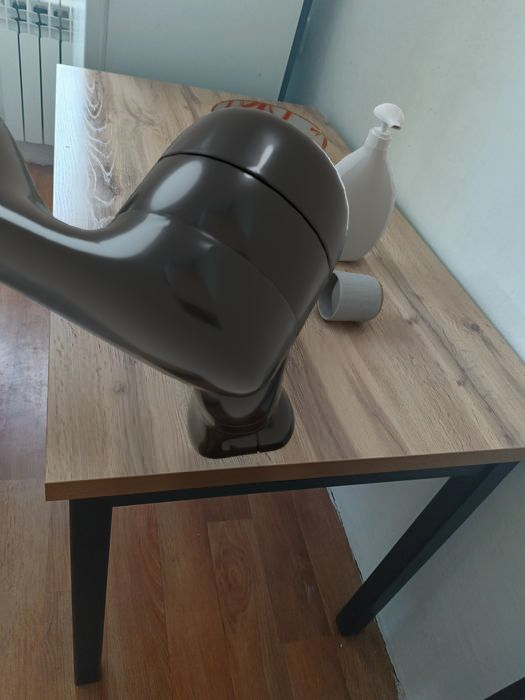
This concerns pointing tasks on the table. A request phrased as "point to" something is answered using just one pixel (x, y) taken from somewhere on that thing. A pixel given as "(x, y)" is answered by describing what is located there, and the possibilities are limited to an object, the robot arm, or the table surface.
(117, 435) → the table surface
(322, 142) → the bowl
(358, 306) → the ceramic mug
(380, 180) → the soap bottle
